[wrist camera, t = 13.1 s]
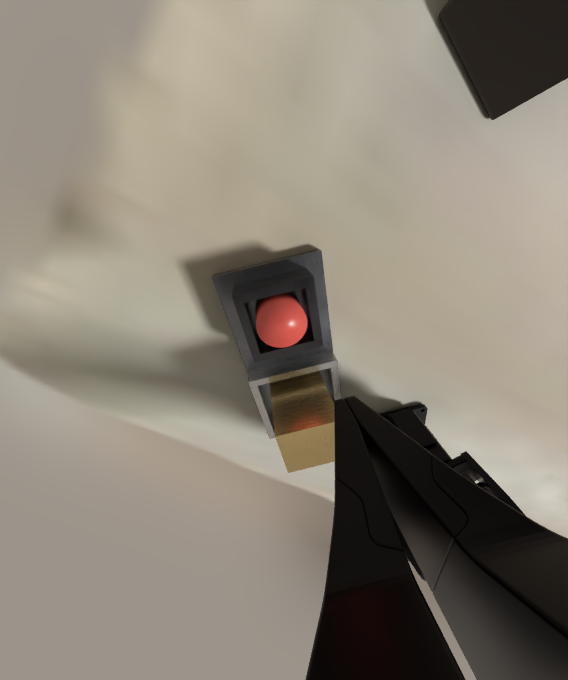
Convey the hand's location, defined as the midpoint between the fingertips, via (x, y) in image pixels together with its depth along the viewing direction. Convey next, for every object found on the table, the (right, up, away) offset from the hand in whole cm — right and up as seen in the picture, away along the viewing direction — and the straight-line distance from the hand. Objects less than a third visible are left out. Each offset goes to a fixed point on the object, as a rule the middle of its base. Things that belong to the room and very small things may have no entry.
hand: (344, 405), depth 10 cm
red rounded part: (-3, +5, +8) cm, 10 cm away
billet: (-1, -2, +12) cm, 12 cm away
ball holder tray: (-2, +2, +11) cm, 11 cm away
